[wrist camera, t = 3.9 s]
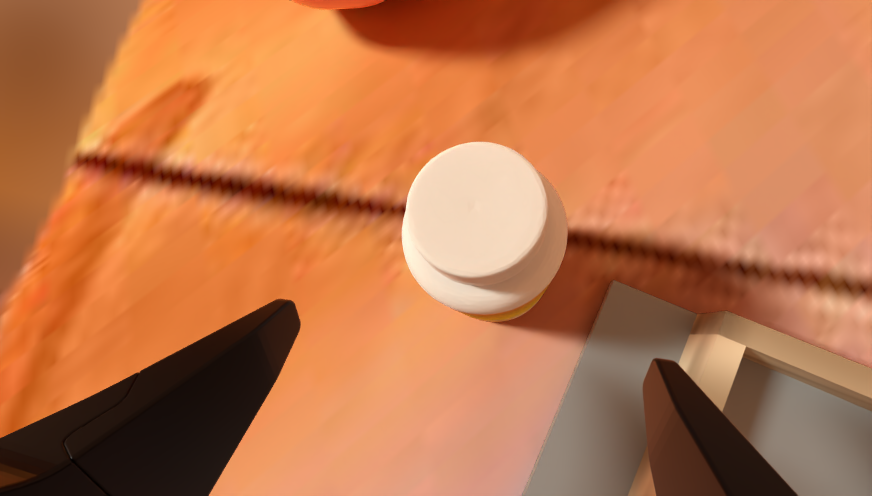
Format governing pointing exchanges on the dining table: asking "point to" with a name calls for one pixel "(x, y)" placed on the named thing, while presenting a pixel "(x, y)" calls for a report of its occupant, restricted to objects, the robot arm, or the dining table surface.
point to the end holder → (739, 337)
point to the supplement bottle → (484, 231)
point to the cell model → (337, 4)
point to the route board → (745, 407)
